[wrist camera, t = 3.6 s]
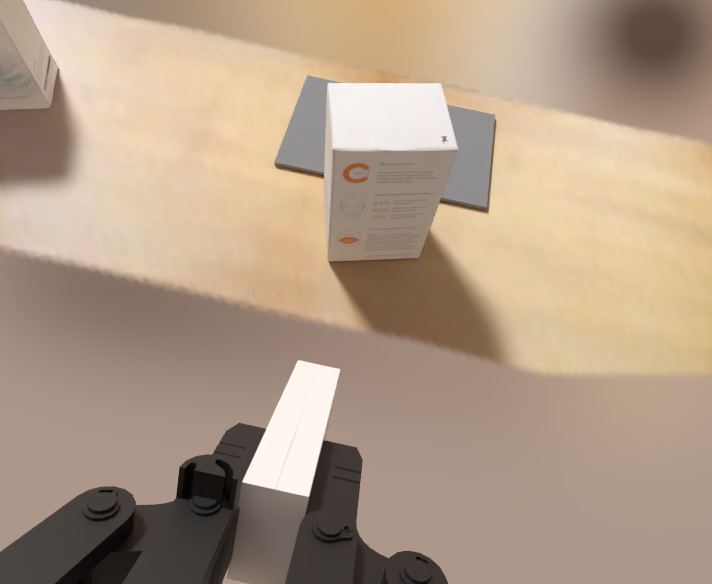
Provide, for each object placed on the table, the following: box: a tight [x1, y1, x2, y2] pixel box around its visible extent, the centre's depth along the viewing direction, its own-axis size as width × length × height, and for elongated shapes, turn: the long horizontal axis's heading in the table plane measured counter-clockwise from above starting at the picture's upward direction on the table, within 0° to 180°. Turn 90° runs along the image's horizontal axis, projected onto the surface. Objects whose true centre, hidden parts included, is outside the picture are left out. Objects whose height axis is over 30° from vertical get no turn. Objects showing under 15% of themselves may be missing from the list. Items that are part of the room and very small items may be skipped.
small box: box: [324, 83, 459, 262], centre depth 37 cm, size 8×6×13 cm
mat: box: [275, 76, 495, 210], centre depth 48 cm, size 20×12×1 cm, turn 79°
